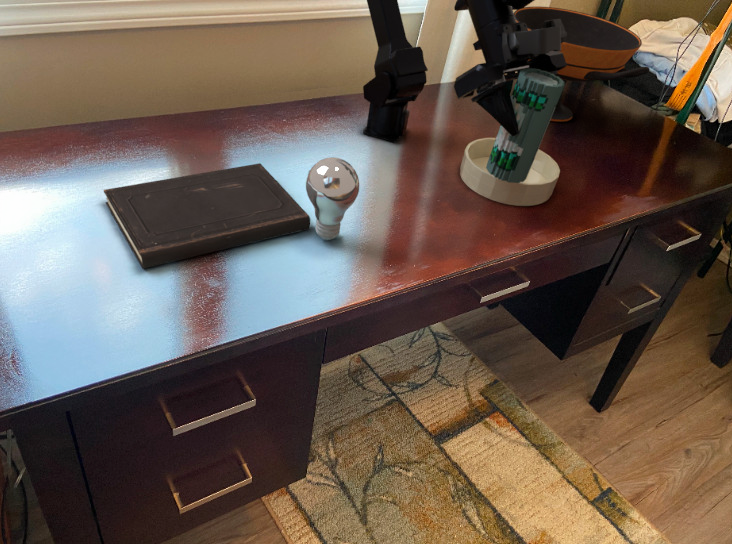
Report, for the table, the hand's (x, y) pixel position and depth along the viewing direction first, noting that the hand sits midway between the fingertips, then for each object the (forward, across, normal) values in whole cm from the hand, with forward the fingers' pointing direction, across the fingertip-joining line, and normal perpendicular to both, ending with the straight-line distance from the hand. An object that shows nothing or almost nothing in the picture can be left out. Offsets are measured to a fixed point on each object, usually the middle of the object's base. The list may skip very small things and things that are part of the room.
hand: (530, 131), depth 88 cm
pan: (+5, +8, +14) cm, 17 cm away
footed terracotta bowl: (-6, +41, +26) cm, 49 cm away
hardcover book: (-3, -42, +23) cm, 48 cm away
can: (+4, 0, +6) cm, 8 cm away
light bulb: (+5, -30, +15) cm, 34 cm away
